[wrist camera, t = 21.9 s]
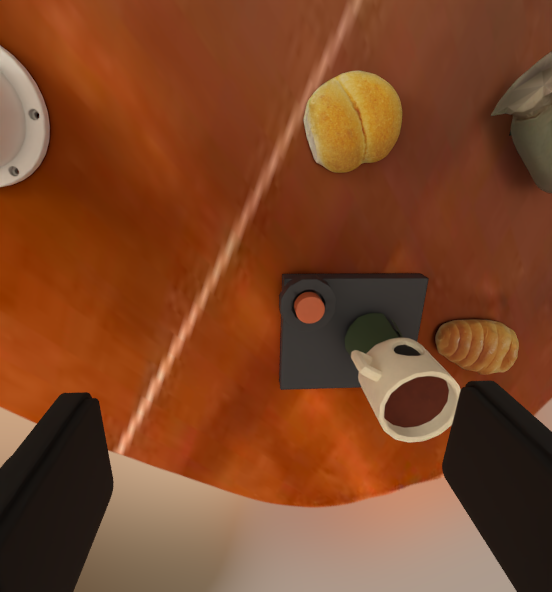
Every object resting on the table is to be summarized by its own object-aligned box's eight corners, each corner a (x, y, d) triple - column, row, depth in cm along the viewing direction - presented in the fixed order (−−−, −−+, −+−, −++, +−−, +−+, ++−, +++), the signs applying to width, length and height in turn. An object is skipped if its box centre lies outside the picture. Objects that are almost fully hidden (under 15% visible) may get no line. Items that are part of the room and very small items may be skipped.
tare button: (293, 317, 38) (295, 324, 36) (294, 291, 37) (296, 296, 35) (320, 317, 38) (323, 323, 37) (322, 291, 37) (326, 296, 36)
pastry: (422, 355, 45) (437, 372, 41) (443, 307, 43) (461, 320, 39) (487, 368, 46) (507, 385, 43) (510, 322, 44) (534, 336, 40)
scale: (275, 380, 44) (277, 398, 41) (278, 269, 39) (281, 279, 36) (402, 377, 46) (414, 394, 42) (421, 269, 41) (437, 278, 37)
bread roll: (402, 150, 36) (420, 149, 32) (318, 181, 36) (326, 183, 32) (384, 59, 33) (402, 46, 29) (293, 93, 33) (299, 85, 29)
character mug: (424, 331, 41) (498, 401, 29) (388, 377, 43) (443, 461, 31) (348, 288, 39) (395, 346, 26) (313, 340, 40) (342, 416, 28)
